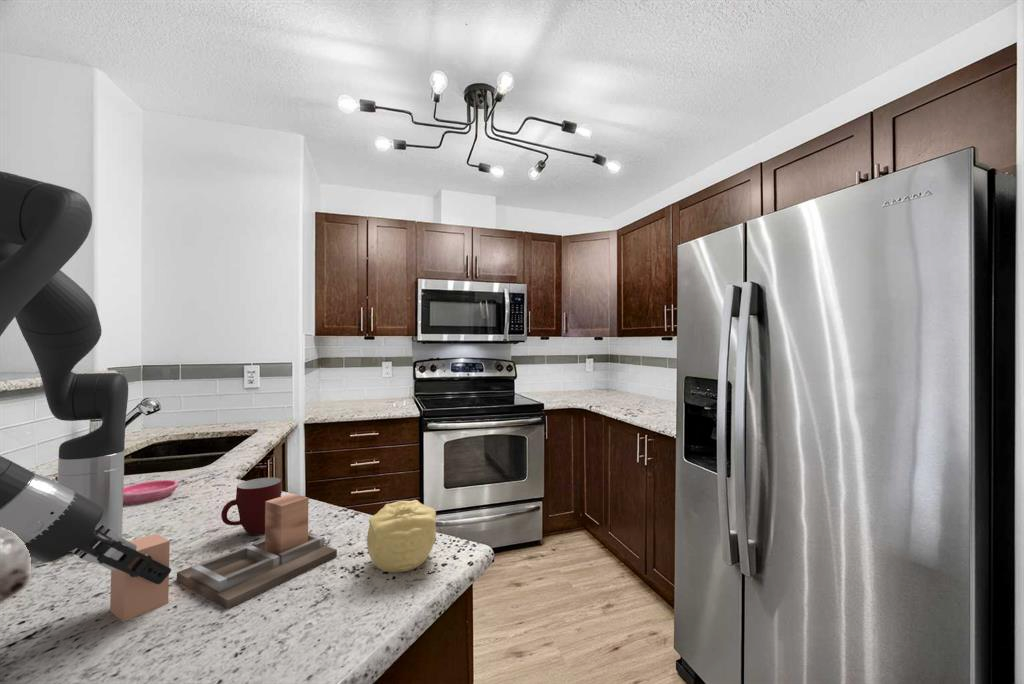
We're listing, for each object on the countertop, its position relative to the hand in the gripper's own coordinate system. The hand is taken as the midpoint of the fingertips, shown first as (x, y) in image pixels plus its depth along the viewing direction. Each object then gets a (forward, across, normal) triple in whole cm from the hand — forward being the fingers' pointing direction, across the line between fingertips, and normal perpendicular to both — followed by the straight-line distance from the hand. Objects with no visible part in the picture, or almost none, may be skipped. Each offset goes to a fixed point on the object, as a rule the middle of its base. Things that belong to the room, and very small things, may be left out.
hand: (155, 570), depth 62 cm
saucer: (+17, +60, -10) cm, 63 cm away
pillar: (+2, 0, +4) cm, 5 cm away
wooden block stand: (+12, -4, -6) cm, 15 cm away
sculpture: (+22, -24, -15) cm, 36 cm away
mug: (+18, +12, -11) cm, 24 cm away
